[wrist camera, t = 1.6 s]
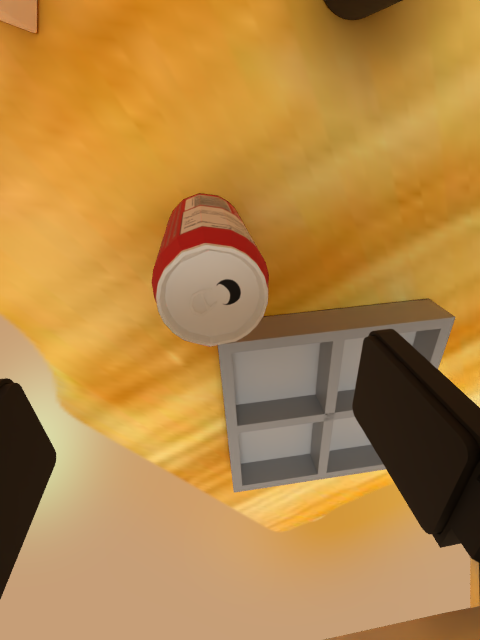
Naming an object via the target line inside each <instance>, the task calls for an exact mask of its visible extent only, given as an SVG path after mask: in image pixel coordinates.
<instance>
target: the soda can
mask: <svg viewBox="0 0 480 640" xmlns="http://www.w3.org/2000/svg"><path fill="white" fill-rule="evenodd" d="M268 279H269V274H268V270H267V266H266V262H265V261H264V259H263V257H262V255H261V253H260V252H259V250H258V248H257V246H256V245H255V243H254V241H253V239H252V238H251V236H250V234H249V232H248V231H247V229H246V227H245V225H244V223H243V222H242V220H241V218H240V216H239V215H238V213H237V211H236V210H235V208H234V207H233V206H232V205H231V204H230V203H229V202H228V201H226V200H224V199H222V198H221V197H219V196H215V195H208V194H201V193H199V194H196V195H194V196H191V197H188V198H186V199H183V200H182V201H181V202H180V204H179V205H178V206H177V207H176V208H175V209H174V210H173V212H172V214H171V216H170V218H169V221H168V224H167V227H166V230H165V234H164V237H163V240H162V243H161V247H160V250H159V253H158V256H157V260H156V263H155V266H154V269H153V277H152V287H153V292H154V298H155V300H156V303H157V307H158V312H159V314H160V316H161V318H162V320H163V322H164V323H165V324H166V325H167V327H168V328H169V329H170V330H171V331H172V332H173V333H174V334H176V335H177V336H179V337H180V338H182V339H183V340H185V341H189V342H193V343H197V344H201V345H205V346H209V347H210V346H215V345H220V344H225V343H230V342H235V341H237V340H239V339H241V338H243V337H244V336H246V335H248V334H249V333H250V332H251V331H252V330H253V329H254V328H255V327H256V326H257V325H258V323H259V322H260V320H261V319H262V317H263V316H264V313H265V310H266V307H267V304H268Z"/></svg>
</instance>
